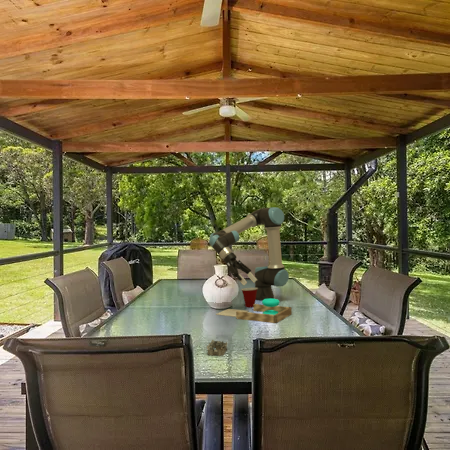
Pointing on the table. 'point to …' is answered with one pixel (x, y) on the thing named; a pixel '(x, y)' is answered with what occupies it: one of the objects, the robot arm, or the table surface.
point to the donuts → (270, 305)
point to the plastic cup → (249, 296)
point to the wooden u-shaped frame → (269, 318)
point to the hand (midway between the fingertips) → (250, 282)
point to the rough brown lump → (217, 348)
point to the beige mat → (230, 312)
